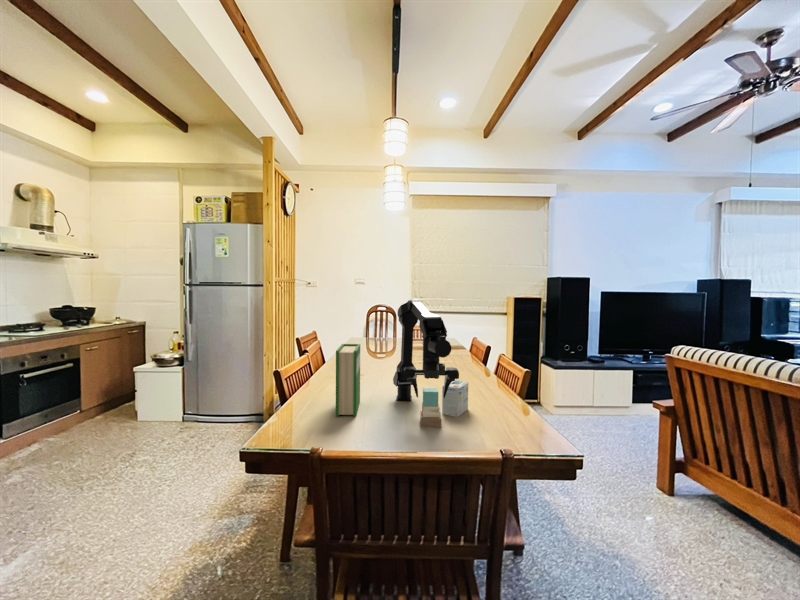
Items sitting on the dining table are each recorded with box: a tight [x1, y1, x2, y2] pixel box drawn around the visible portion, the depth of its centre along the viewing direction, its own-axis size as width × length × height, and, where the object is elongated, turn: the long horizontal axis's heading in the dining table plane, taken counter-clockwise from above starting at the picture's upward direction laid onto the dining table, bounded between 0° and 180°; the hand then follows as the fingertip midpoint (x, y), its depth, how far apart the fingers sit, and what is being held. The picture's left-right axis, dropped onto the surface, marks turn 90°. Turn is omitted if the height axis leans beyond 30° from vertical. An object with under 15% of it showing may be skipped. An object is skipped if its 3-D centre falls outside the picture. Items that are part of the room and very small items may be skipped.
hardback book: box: [335, 343, 361, 418], centre depth 139 cm, size 18×7×24 cm, turn 2°
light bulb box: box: [441, 380, 469, 418], centre depth 137 cm, size 11×7×11 cm, turn 149°
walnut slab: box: [419, 410, 442, 429], centre depth 124 cm, size 7×7×4 cm
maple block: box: [421, 401, 441, 417], centre depth 125 cm, size 6×6×4 cm
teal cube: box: [422, 387, 439, 407], centre depth 124 cm, size 5×5×5 cm
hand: (430, 397), depth 124 cm, fingers open, 9 cm apart
